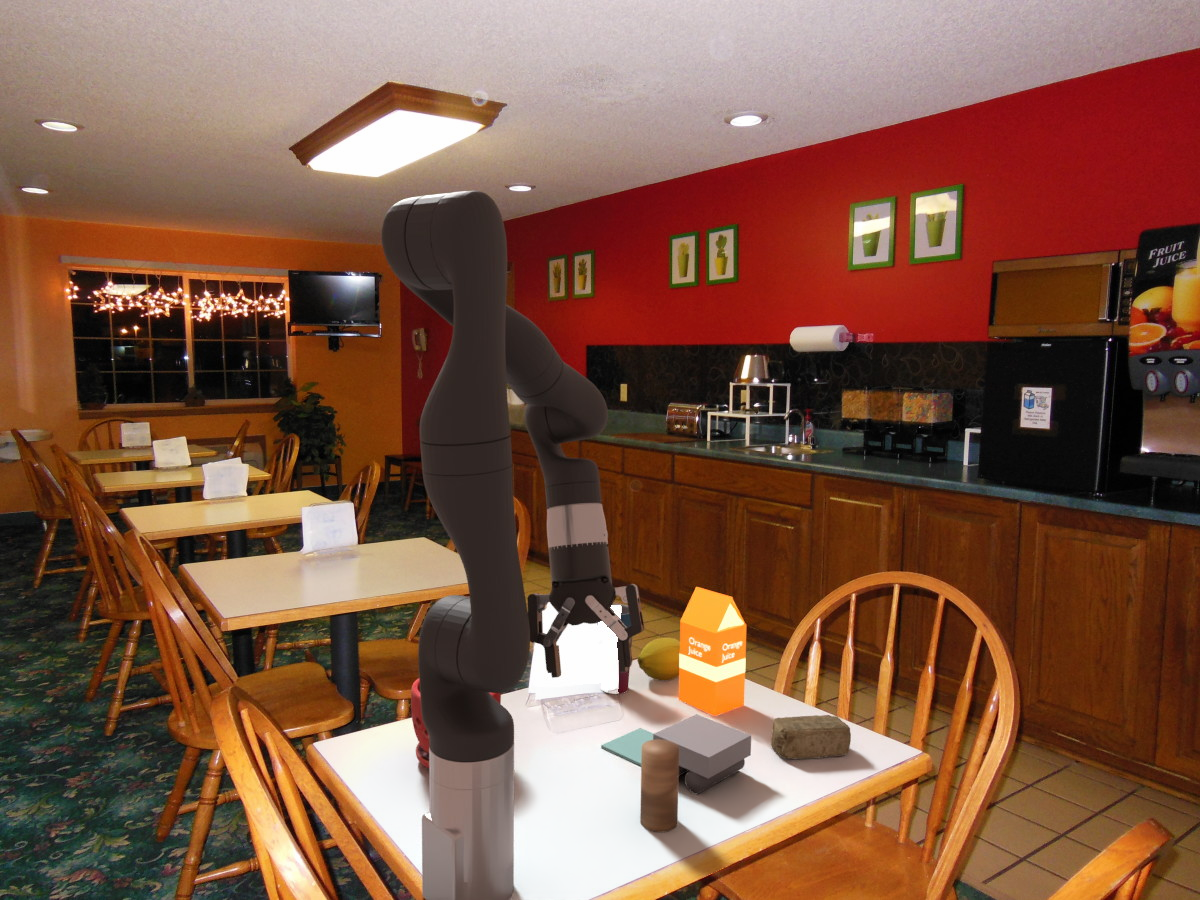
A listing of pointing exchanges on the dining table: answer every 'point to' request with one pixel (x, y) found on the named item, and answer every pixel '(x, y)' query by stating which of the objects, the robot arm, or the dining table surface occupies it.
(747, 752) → the grey roller platform
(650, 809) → the roller
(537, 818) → the dining table surface
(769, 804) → the dining table surface
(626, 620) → the cup
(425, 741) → the plant pot
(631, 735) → the teal pad
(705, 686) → the orange juice
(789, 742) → the stone block
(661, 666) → the lemon
